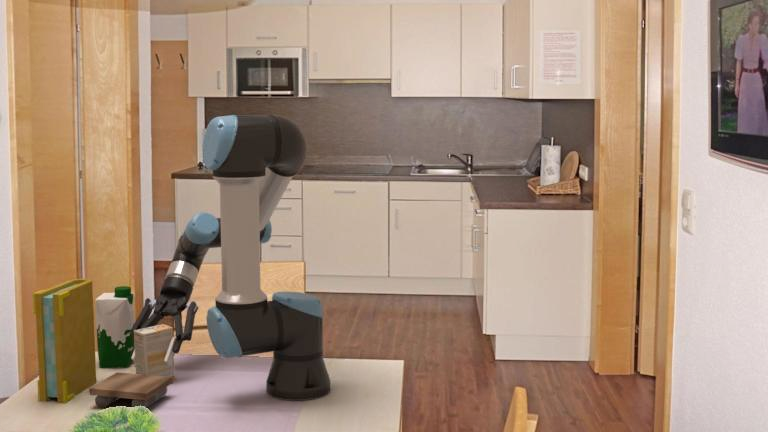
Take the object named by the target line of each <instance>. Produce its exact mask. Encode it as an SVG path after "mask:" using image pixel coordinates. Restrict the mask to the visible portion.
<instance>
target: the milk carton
mask: <svg viewBox="0 0 768 432" xmlns="http://www.w3.org/2000/svg"><path fill="white" fill-rule="evenodd" d="M94 303H95V317H96V318H95V319H96V322H95V323H96V343H97V345H96V348H97V355H98V357H97V358H98V364H99V368H100V369H102V368H103V369H105V368H108V369H110V368H111V369H112V368H114V369H115V368H116V369H117V368H118V369H128V367H129V366H130V365H131V364H132V363H134V361H133V360H132V359H131V357H132V355H133V352H134V347H133V344H134V334H133V333H132V332H131V329H132V327H133V325H134V323H135V293H134V292H132V288H131V287H130V286H126V285H125V286H124V285H123V286H117V287H114V292H104V293H102V294H101V295H99V296H97V298H95V299H94Z"/></svg>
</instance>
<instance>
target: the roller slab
mask: <svg viewBox="0 0 768 432" xmlns="http://www.w3.org/2000/svg"><path fill="white" fill-rule="evenodd" d="M172 384H173V379H172V377H166V376H155V375H143V374H136V373H131V372H115V373H113V374H112V375H110V376H108V377H107V378H105V379H103V380H101V381H100V382H98V383H95V384H93V385H92V386H90V387H88V391H89V393H88V394H89V396H96V397H95V399H94V402H95V405H96V406H97V407H98V408H99V409H103V408H106V407H108V406H109V405H111V404H112V403H114V402H115V401H117V400H118V399H128V400H129V399H131V400H132V401H131V407H135V406H140V405H141V406H145V407H146V408H148V407H150V406H151V405H152V404H154V403H155V402H157V401H158V400H159V399H160V398H162V397H164V396H165V395H166V394H168V393H167V392H168V386H169V387H170V385H172Z"/></svg>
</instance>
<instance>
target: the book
mask: <svg viewBox="0 0 768 432" xmlns="http://www.w3.org/2000/svg"><path fill="white" fill-rule="evenodd" d="M93 294H94V290H93V280H92V279H91V278H90V279H89V278H74V279H69V280H67V281H64V282H61V283H58V284H56V285H53V286H51V287H49V288H45V289H41V290H38V291H36V292H34V293H32V298H33V299H32V300H33V315H35V321H36V322H35V323H36V343H37V345H36V346H37V365H38V380H37V401H38V402H45V403H46V402H48V401H50V400H51V399H53V398H57V399H56V400H57V403H58V404H59V403H61V404H66V403H68V402H70V401H71V400H73V399H74V398H75V396H76V395H79V394H80V393H82V392H83V391H85V390H87V389H89V388H91V387H92V386H94V385H96V384H97V366H96V365H97V364H96V346H95V345H96V343H95V342H96V341H95V340H96V338H95V316H94V314H95V313H94V311H95V310H94V295H93Z"/></svg>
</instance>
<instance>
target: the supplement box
mask: <svg viewBox="0 0 768 432" xmlns="http://www.w3.org/2000/svg"><path fill="white" fill-rule="evenodd" d="M173 330H174V328H173V326H170V325H167V324H163V323H162V324H156V325H155V326H152V327H148V328H143V329H138V330H134V345H135V363H134V365H135V374H143V375H155V376H166V377H172V380H174V379H175V377H176V375H175V358H174V359H173V361H172V364H171V367H169V366H167V365H166V363H165V362H164V359H165V356H166V354H167V351H168V348H169V345H170V342H171V339H172V337H174V331H173Z"/></svg>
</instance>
